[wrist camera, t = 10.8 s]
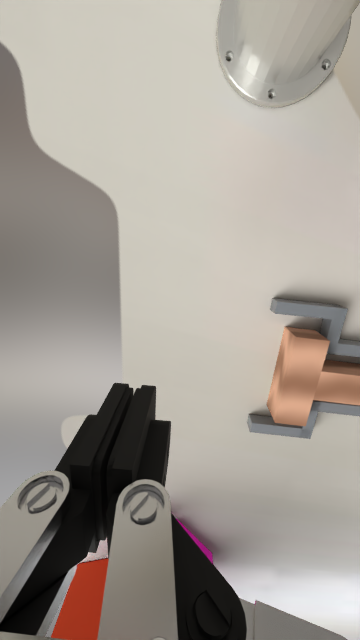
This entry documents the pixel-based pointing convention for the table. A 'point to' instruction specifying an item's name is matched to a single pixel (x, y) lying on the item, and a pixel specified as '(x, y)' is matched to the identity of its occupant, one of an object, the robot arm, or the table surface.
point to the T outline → (331, 331)
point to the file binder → (83, 603)
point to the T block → (309, 377)
